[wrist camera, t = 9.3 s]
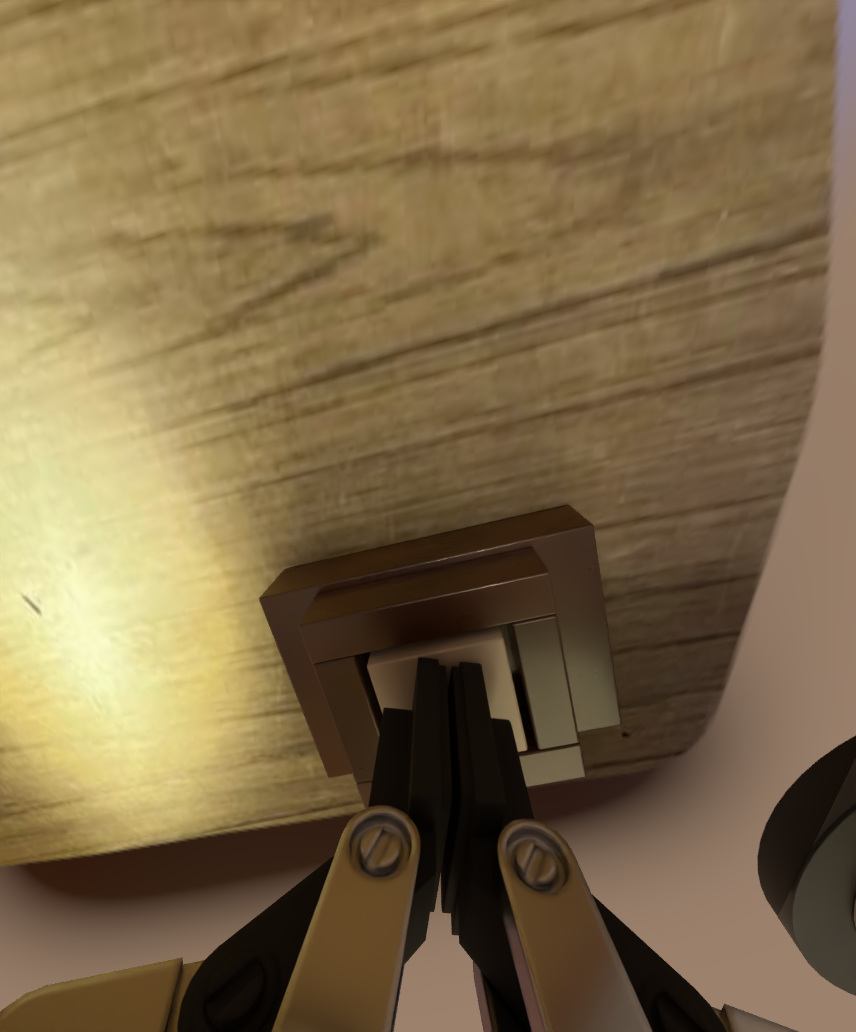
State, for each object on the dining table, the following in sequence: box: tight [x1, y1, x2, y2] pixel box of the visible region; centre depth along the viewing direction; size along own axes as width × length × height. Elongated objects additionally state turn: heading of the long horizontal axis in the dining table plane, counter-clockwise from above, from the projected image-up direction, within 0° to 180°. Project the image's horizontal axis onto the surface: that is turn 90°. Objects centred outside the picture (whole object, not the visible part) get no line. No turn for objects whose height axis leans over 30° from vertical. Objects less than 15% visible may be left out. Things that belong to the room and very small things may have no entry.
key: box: [367, 625, 527, 752], centre depth 12 cm, size 4×4×2 cm
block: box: [259, 505, 621, 809], centre depth 13 cm, size 10×7×4 cm
